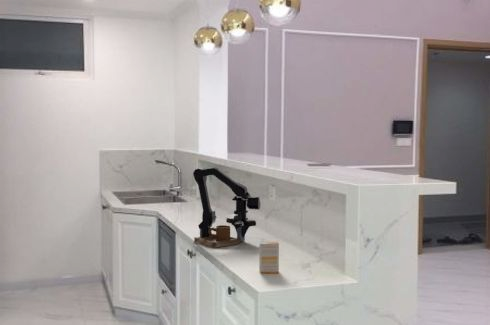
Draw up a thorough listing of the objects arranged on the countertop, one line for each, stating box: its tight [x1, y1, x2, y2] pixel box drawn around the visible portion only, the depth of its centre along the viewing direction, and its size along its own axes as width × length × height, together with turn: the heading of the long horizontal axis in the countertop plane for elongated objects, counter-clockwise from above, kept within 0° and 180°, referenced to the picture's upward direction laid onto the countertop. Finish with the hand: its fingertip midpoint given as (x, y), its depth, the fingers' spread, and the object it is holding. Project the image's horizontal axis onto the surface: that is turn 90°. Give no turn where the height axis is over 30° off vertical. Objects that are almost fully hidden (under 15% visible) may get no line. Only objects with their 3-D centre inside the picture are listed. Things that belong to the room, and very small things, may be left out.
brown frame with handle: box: [193, 227, 246, 248], centre depth 302 cm, size 18×24×7 cm
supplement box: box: [258, 240, 280, 274], centre depth 243 cm, size 8×5×13 cm, turn 92°
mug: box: [208, 225, 231, 242], centre depth 297 cm, size 12×8×9 cm, turn 109°
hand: (240, 237), depth 306 cm, fingers open, 3 cm apart
